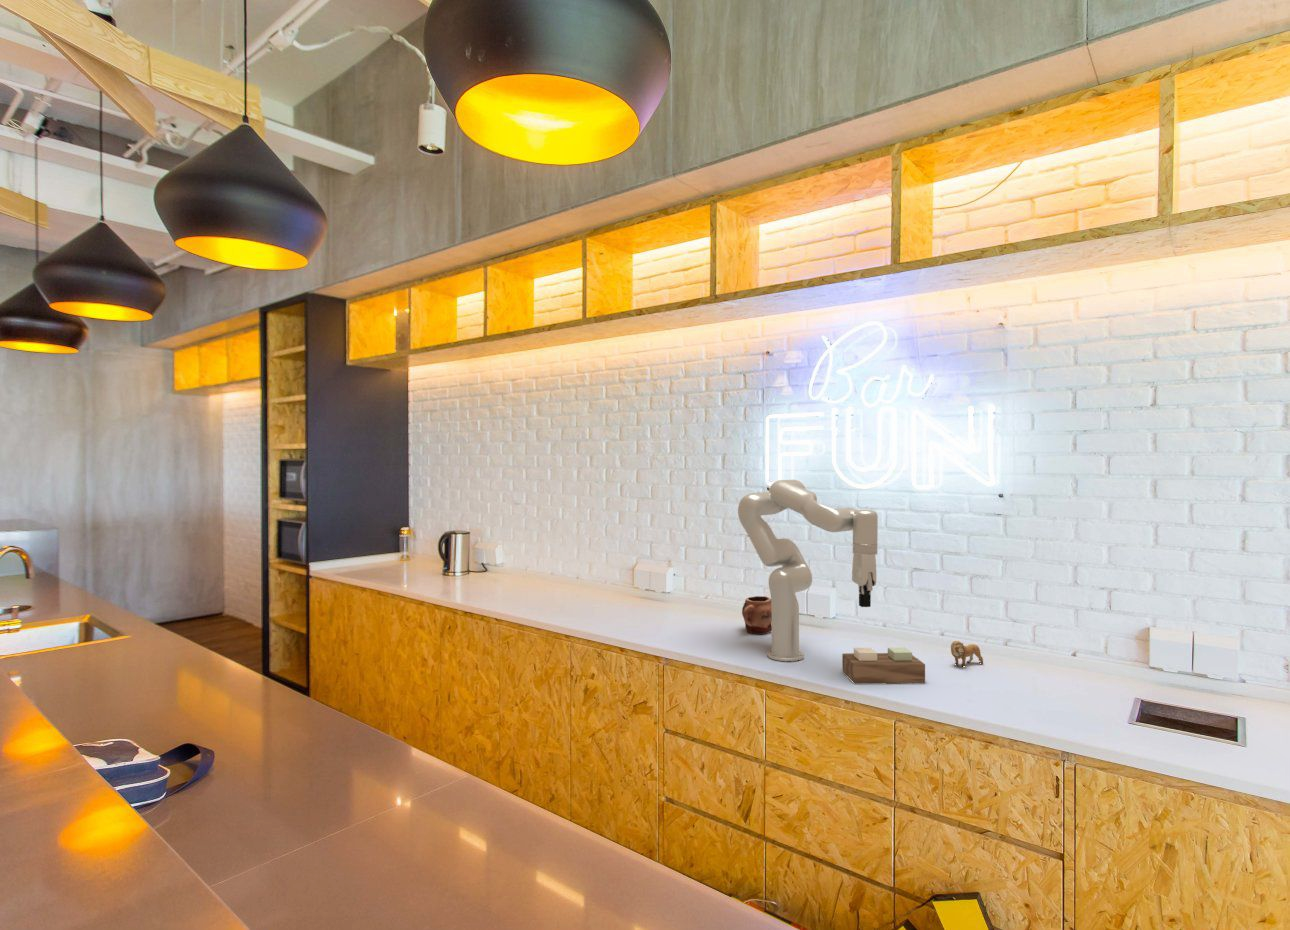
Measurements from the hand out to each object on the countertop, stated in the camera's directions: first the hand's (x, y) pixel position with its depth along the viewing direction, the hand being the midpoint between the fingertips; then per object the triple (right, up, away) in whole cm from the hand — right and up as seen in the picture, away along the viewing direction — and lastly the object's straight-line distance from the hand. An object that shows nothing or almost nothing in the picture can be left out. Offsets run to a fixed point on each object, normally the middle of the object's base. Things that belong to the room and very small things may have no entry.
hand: (864, 606), depth 211 cm
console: (+6, -23, 0) cm, 23 cm away
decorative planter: (-25, -23, +56) cm, 65 cm away
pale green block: (+11, -21, 0) cm, 24 cm away
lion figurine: (+38, -23, +12) cm, 46 cm away
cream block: (0, -21, 0) cm, 21 cm away
